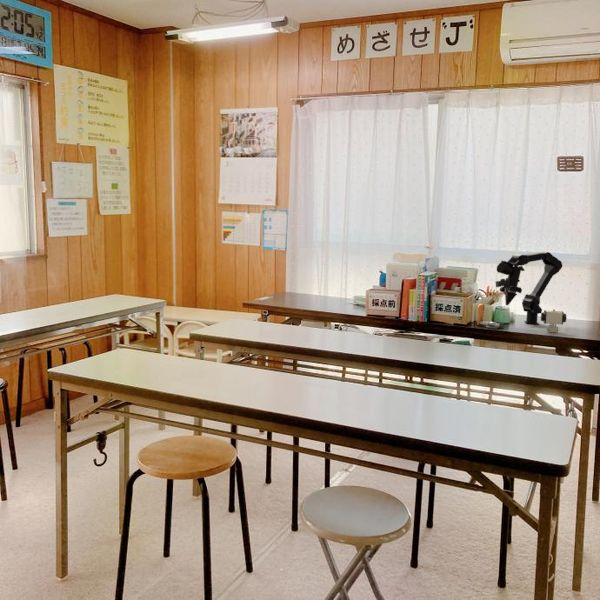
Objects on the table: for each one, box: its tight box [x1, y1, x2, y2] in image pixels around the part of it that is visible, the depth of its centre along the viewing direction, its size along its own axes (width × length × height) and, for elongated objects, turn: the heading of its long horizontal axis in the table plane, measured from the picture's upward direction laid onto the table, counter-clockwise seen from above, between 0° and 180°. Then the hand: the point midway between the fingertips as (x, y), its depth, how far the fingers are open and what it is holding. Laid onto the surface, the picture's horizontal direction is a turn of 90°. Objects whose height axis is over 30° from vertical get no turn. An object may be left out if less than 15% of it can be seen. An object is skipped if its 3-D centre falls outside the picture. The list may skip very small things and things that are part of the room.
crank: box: [476, 303, 500, 327], centre depth 331 cm, size 13×4×11 cm, turn 38°
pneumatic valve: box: [540, 308, 567, 333], centre depth 320 cm, size 6×12×12 cm, turn 76°
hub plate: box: [484, 324, 500, 330], centre depth 330 cm, size 7×7×1 cm
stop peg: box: [497, 322, 504, 329], centre depth 329 cm, size 3×3×3 cm
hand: (506, 305), depth 336 cm, fingers closed
